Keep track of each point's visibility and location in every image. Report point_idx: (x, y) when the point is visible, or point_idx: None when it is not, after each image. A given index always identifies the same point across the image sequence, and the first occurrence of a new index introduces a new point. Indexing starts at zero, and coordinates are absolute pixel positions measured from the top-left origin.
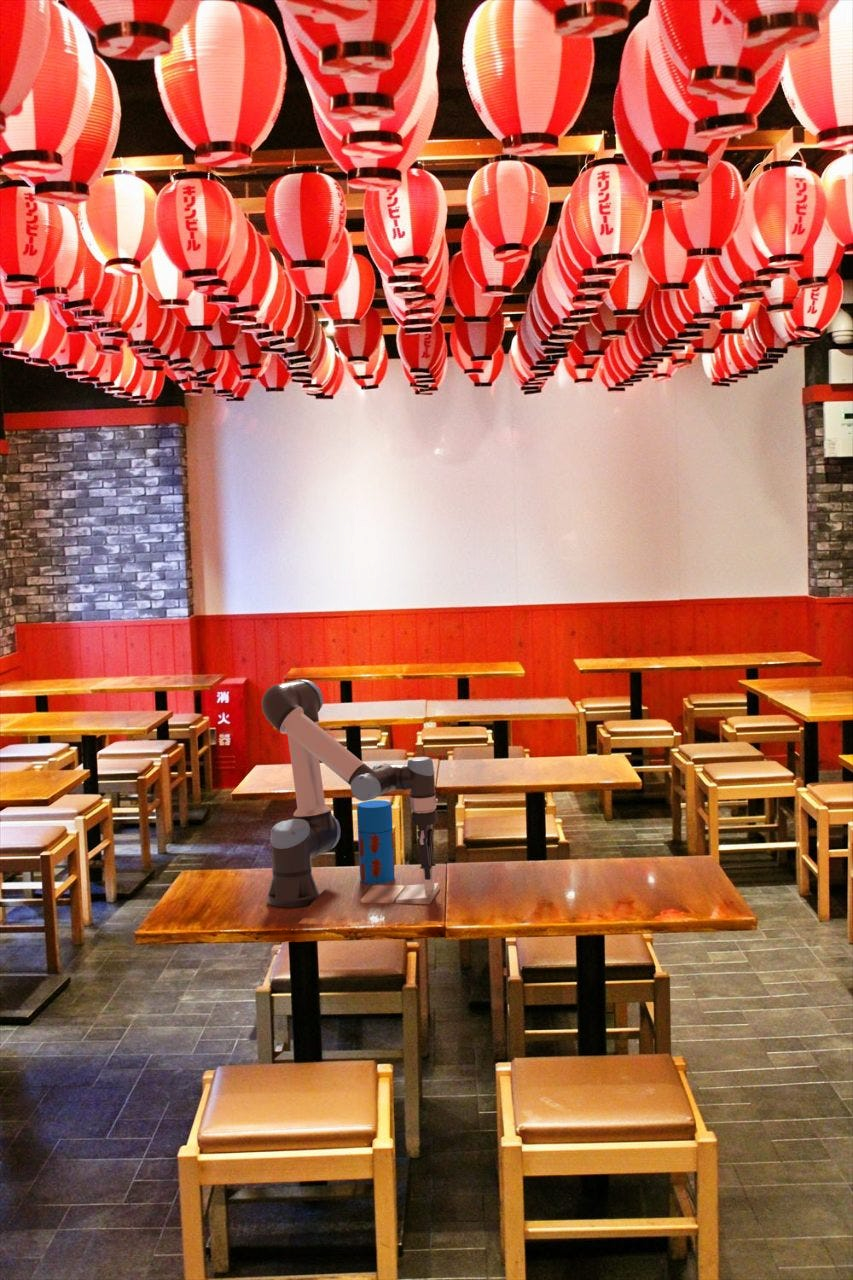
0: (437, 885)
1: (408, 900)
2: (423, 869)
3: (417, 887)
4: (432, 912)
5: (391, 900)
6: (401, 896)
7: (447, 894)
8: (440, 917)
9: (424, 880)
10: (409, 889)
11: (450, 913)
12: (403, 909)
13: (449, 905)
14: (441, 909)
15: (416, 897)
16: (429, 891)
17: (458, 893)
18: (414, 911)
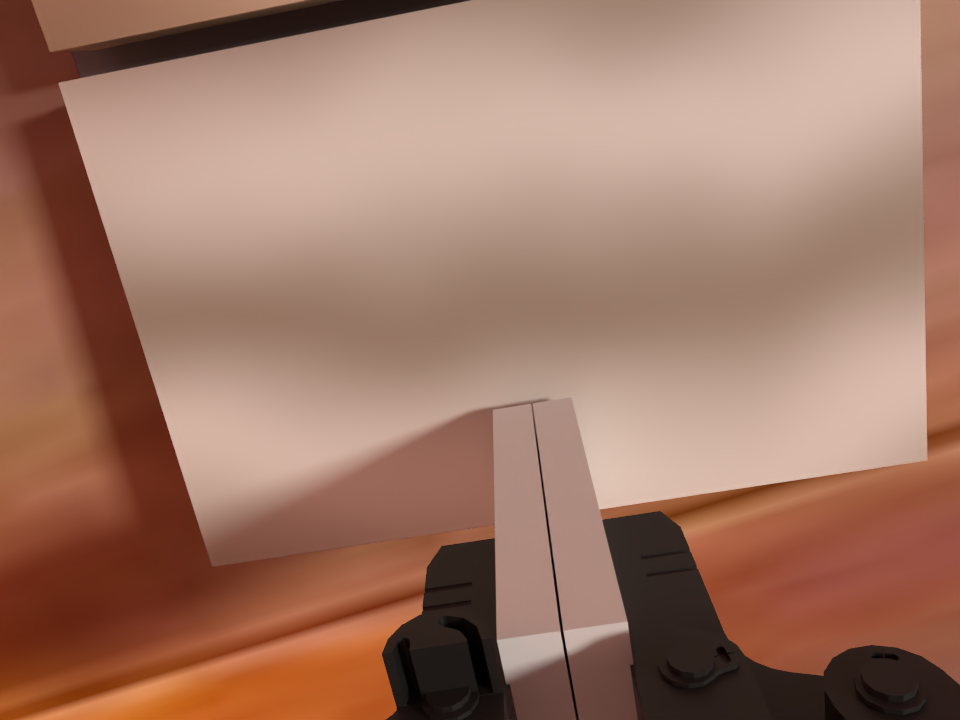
0: (795, 477)
1: (133, 281)
2: (497, 630)
3: (735, 191)
4: (131, 559)
5: (34, 6)
6: (247, 106)
7: (811, 494)
8: (23, 672)
9: (494, 495)
10: (635, 86)
11: (177, 711)
12: (85, 211)
13: None
14: (261, 605)
15: (206, 385)
16: (492, 471)
17: (860, 586)
18: (76, 372)
